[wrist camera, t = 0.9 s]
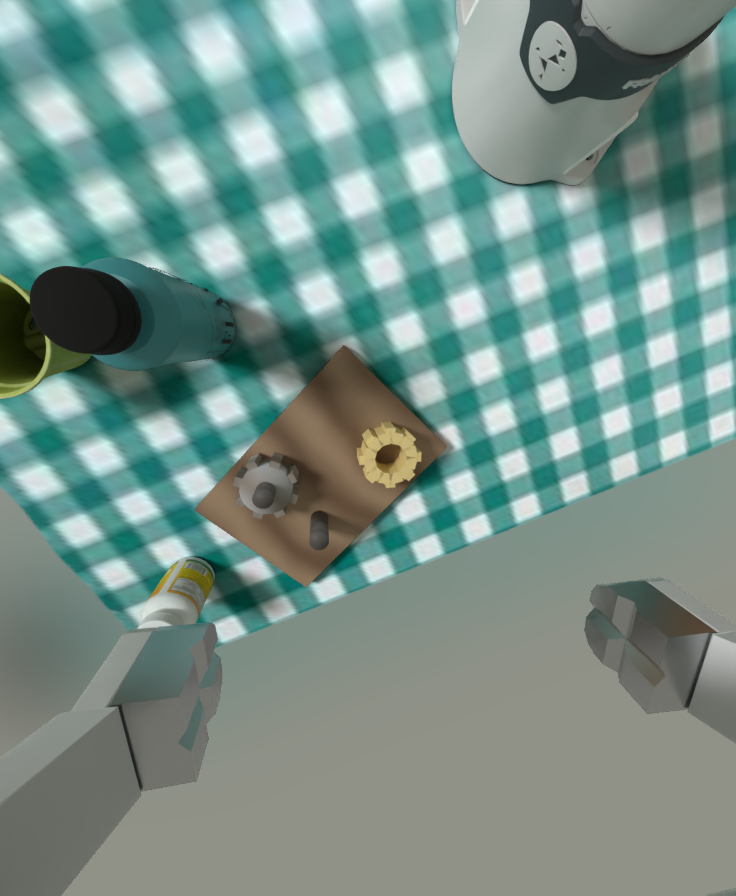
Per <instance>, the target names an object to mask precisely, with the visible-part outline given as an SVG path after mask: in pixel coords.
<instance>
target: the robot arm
mask: <svg viewBox="0 0 736 896" xmlns="http://www.w3.org/2000/svg"><path fill="white" fill-rule="evenodd" d="M735 7H736V0H457V2H456V15H457V26H458V34H459V45H458V52H457V57H456V62H455V67H454V73H453V82H452V101H453V110H454V116H455V121H456V125H457V128H458V131H459V134H460V136H461V139H462V141H463V143H464V145H465V147H466V149H467V150H468V152H469V153H470V155H471V156H472V158H473V159H474V160H475V161H476V162H477V164H478V165H479V166H480V167H481V168H483V169H484V170H485V171H486V172H487V173H489V174H490V175H492V176H494V177H496V178H498V179H500V180H502V181H505V182H509V183H514V184H530V183H536V182H540V181H545V180H554V181H557V182H560V183H564V184H568V185H578V184H580V183H581V182H583V181H584V180H585V179H586V178H588V177H589V175H590V174H591V173H592V171H593V170H594V168H595V167H596V165H597V164H598V163H599V161H600V160H601V158H602V157H603V155H604V154H605V152H606V151H607V149H608V148H609V146H610V145H611V143H612V142H613V140H614V139H615V137H616V136H617V135H618V134H619V133H620V132H622V131H623V130H624V129H625V128H627V127H628V126H629V125H630V124H631V123H632V122H634V120H635V119H636V118H637V117H638V110H639V109H640V108H641V106H642V105H643V104H644V102H645V101H646V100H647V98H648V96H649V95H650V93H651V92H652V90H653V88H654V87H655V85H656V83H657V82H658V80H659V78H660V77H661V76H664V75H665V74H667V73H668V72H669V71H670V70H672V69H673V68H674V67H676V66H677V65H678V64H679V63H681V62H682V61H683V60H684V59H685V58H686V57H687V56H688V55H689V53H690V52H691V51H692V50H693V49H695V48H696V47H697V46H698V45H699V44H701V43H702V42H703V41H704V40H705V39H706V38H707V37H708V36H709V35H710V34H711V33H712V32H713V30H714V29H715V28H716V27H717V25H718V24H719V23H720V22H721V20H722V19H723V17H724V16H725V15H726V14H727V13H728V12H730V11H731V10H732V9H733V8H735ZM587 157H588V161H587V160H586V158H587ZM590 602H591V604H592V605H593V607H594V609H593V610H592V611H591V612H590V613H589V615H588V616H587V617H586V622H585V629H584V630H585V634H586V637H587V641H588V644H589V646H590V648H591V649H592V651H593V653H594V654H595V655H596V657H597V658H598V659H599V660H600V661H601V662H602V664H604V665H606V666H607V667H609V668H611V669H613V670H614V671H616V672H618V677H619V683H620V684H621V685H622V686H623V687H624V688H625V690H626V691H627V692H628V693H629V694H630V695H631V696H632V697H633V699H634V700H635V701H636V702H637V703H638V704H639V705H640V706H641V707H642V709H643V710H644V711H645V712H646V713H647V714H651V713H659V712H669V711H677V710H686V709H688V713H690V714H692V715H693V716H695V717H696V718H698V719H699V720H701V721H702V722H704V723H705V724H707V725H708V726H710V727H711V728H713V729H714V730H716V731H718V732H719V733H721V734H722V735H724V736H725V737H727V738H728V739H730V740H731V741H733V742H734V743H736V625H735V624H733V623H732V622H730V621H729V620H727V619H726V618H724V617H723V616H721V615H720V614H718V613H717V612H715V611H714V610H712V609H711V608H709V607H708V606H706V605H705V604H703V603H702V602H700V601H699V600H697V599H696V598H694V597H693V596H692V595H690V594H689V593H687V592H686V591H684V590H683V589H681V588H680V587H678V586H676V585H675V584H674V583H672V582H671V581H669V580H666V579H663V578H660V577H658V578H651V579H643V580H637V581H628V582H619V583H610V584H600V585H596V586H595V587H594V588H593V590H592V591H591V596H590ZM217 640H218V638H217V633H216V628H215V625H214V624H213V623H201V624H188V625H174V626H161V627H158V628H156V627H154V628H141V629H131V630H129V631H127V632H126V633H125V634H123V635H122V637H121V638H120V640H119V641H118V642H117V644H116V645H115V647H114V648H113V650H112V651H111V653H110V654H109V656H108V657H107V659H106V660H105V662H104V663H103V665H102V666H101V667H100V669H99V671H98V672H97V673H96V675H95V676H94V678H93V679H92V681H91V682H90V684H89V685H88V687H87V688H86V690H85V691H84V693H83V694H82V695H81V697H80V698H79V700H78V701H77V703H76V704H75V706H74V707H73V709H72V710H71V712H67V713H60V714H59V715H57V716H56V717H55V718H53V719H52V720H50V721H49V722H48V723H47V724H45V725H44V726H42V727H41V728H40V729H38V730H37V731H36V732H34V733H33V734H32V735H30V736H29V737H27V738H26V739H25V740H23V741H22V742H21V743H19V744H18V745H17V746H15V747H14V748H13V749H11V750H10V751H8V752H7V753H6V754H5V755H3V756H2V757H0V896H61V895H62V894H63V892H64V891H65V890H66V889H67V888H68V886H69V885H70V884H71V883H72V881H73V880H74V879H75V878H76V876H77V875H78V874H79V873H80V871H81V870H82V869H83V868H84V866H85V865H86V864H87V862H88V861H89V860H90V859H91V857H92V856H93V855H94V854H95V852H96V851H97V850H98V849H99V847H100V846H101V845H102V843H103V842H104V841H105V840H106V839H107V837H108V836H109V835H110V834H111V832H112V831H113V830H114V829H115V827H116V826H117V825H118V824H119V822H120V821H121V820H122V819H123V817H124V816H125V815H126V814H127V812H128V811H129V810H130V809H131V807H132V806H133V805H134V803H135V802H136V801H137V800H138V799H139V797H140V796H141V791H146V790H152V789H157V788H163V787H168V786H174V785H179V784H185V783H190V782H196V781H197V778H198V775H199V771H200V767H201V764H202V760H203V757H204V753H205V750H206V746H207V743H208V739H209V738H208V732H207V726H206V724H207V722H208V721H209V720H210V719H211V718H212V717H213V716H214V715H215V714H216V711H217V707H218V702H219V699H220V693H221V685H222V664H221V658H220V657H219V656H218V655H217V654H216V653H215V652H214V649H215V646H216V643H217ZM702 896H736V888H734V889H729V890H725V891H721V892H716V893H711V894H707V895H702Z"/></svg>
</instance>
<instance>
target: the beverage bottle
mask: <svg viewBox="0 0 736 896" xmlns="http://www.w3.org/2000/svg"><path fill="white" fill-rule="evenodd" d="M145 265H146V264H145ZM153 269H154V268H153ZM153 269H152V268H150V267H149V268H148V267H146V266H144V265H142V264H140V263H137V262H134V261H131V260H128V259H123V258H115V257H112V258H102V259H98V260H95V261H92V262H90V263H88V264H86V265H85V266H83V267H82V268H78V267H72V266H61V267H56V268H52V269H50V270H47V271H45V272H44V273H42V274H41V275H40V276H39V277H38V278H37V279H36V280H35V282H34V283H33V285H32V288H31V292H30V299H29V300H30V309H31V313H32V316H33V318H34V320H35V322H36V324H37V326H38V327H39V329H40V330H41V331H42V332H43V334H44V335H45V336H46V337H47V338H48V339H50V340H51V341H52V342H53V343H55V344H56V345H58V346H60V347H62V348H64V349H67V350H69V351H72V352H76V353H83V354H91V355H93V356H94V357H95V358H97V359H98V360H100V361H101V362H103V363H105V364H107V365H109V366H112V367H115V368H118V369H123V370H129V371H139V370H147V369H151V368H154V367H157V366H162V365H168V364H174V363H179V362H188V361H196V360H202V359H209V358H210V359H211V358H213V359H214V357H217V356H218V358H219V357H220V356H221V354H222V353H224V352H225V351H228V350H227V349H228V348H229V347H230V345H231V343H232V341H233V339H234V336H235V322H236V321H235V322H234V318H235V317H234V318H233V314H232V313H233V312H231V311H232V310H231V311H230V309H229V308H228V306H227V305H226V304H225V303H224V302H223V299H222V298H221V297H217V296H216V295H214V294H215V293H214V294H212V293H213V292H212V293H210V292H208V290H207V289H205V288H204V289H205V290H206V291H205V290H203V289H200V288H198V287H195V286H193V285H194V284H193V285H192V283H190V284H191V285H190V284H189V282H188V283H187V282H183V281H185V280H183V279H182V280H183V281H182V280H181V281H180V279H179V277H178V278H177V277H176V276H174V275H173V277H171V276H168V275H166V274H163V273H161V271H162V270H160V271H159V272H158V271H156V269H155V270H153ZM157 270H158V269H157ZM162 272H163V271H162ZM164 273H165V271H164ZM166 273H167V272H166ZM175 277H176V278H175ZM178 279H179V280H178ZM196 286H197V285H196ZM202 288H203V287H202ZM234 340H235V339H234ZM230 348H231V347H230ZM219 355H220V356H219ZM222 355H224V354H222ZM203 361H204V360H203ZM207 361H208V360H207ZM201 362H202V361H201ZM195 363H196V362H195Z"/></svg>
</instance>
